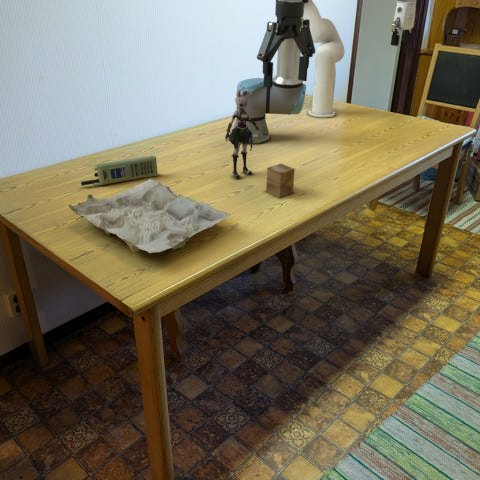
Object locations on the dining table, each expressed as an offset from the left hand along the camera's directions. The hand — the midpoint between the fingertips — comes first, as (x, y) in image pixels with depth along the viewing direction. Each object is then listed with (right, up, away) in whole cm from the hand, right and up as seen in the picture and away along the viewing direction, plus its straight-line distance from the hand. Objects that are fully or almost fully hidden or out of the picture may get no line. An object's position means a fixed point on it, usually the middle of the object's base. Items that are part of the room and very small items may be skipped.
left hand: (285, 83), depth 143 cm
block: (0, -29, +17) cm, 34 cm away
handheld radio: (-52, -25, +23) cm, 62 cm away
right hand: (+53, +36, +66) cm, 92 cm away
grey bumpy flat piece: (-37, -41, -4) cm, 55 cm away
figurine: (-13, -22, +29) cm, 39 cm away
